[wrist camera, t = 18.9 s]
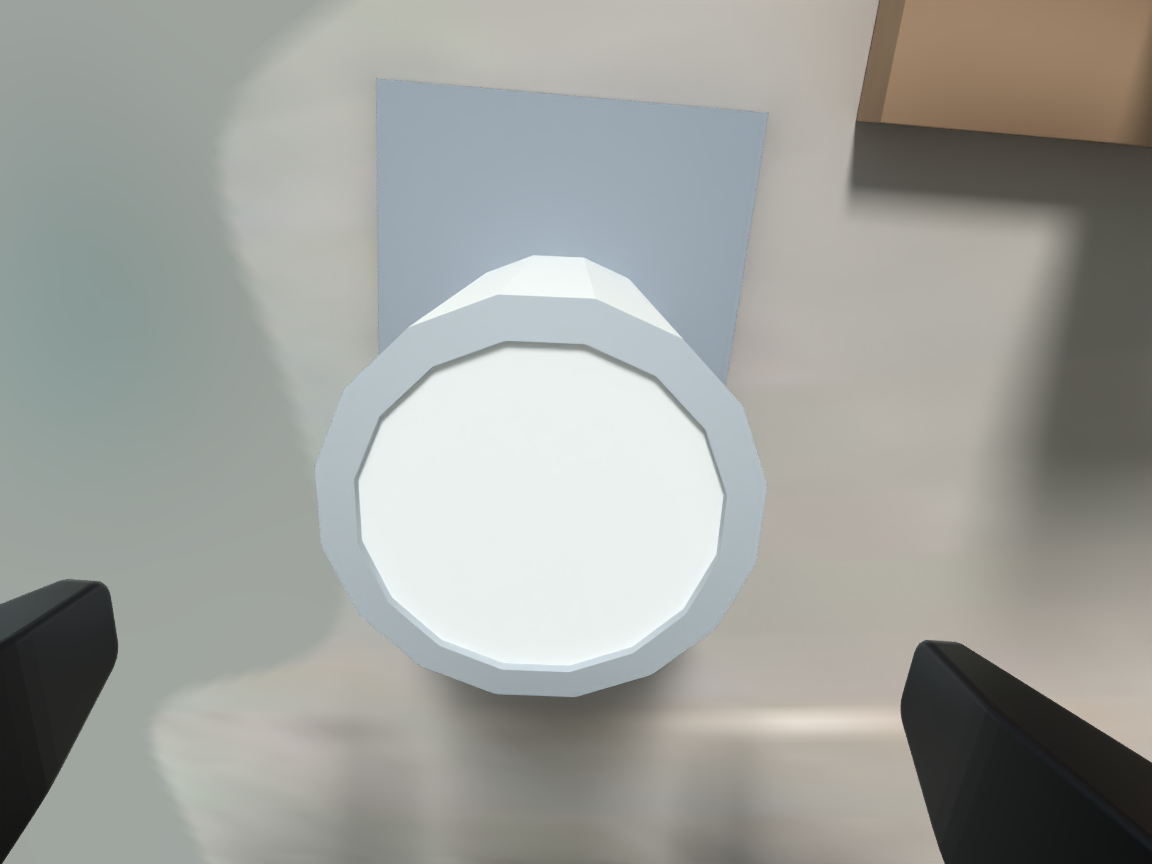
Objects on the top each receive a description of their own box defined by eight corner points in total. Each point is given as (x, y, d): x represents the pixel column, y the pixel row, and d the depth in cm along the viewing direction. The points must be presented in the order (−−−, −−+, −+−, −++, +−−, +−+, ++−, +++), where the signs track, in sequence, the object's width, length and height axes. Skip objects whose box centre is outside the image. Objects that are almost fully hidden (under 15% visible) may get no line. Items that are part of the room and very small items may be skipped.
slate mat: (688, 596, 22) (690, 609, 21) (385, 574, 21) (380, 587, 21) (762, 112, 17) (768, 112, 17) (382, 79, 17) (375, 78, 16)
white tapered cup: (510, 555, 20) (478, 764, 14) (344, 328, 18) (214, 449, 12) (755, 423, 19) (845, 586, 13) (607, 161, 17) (623, 194, 10)
